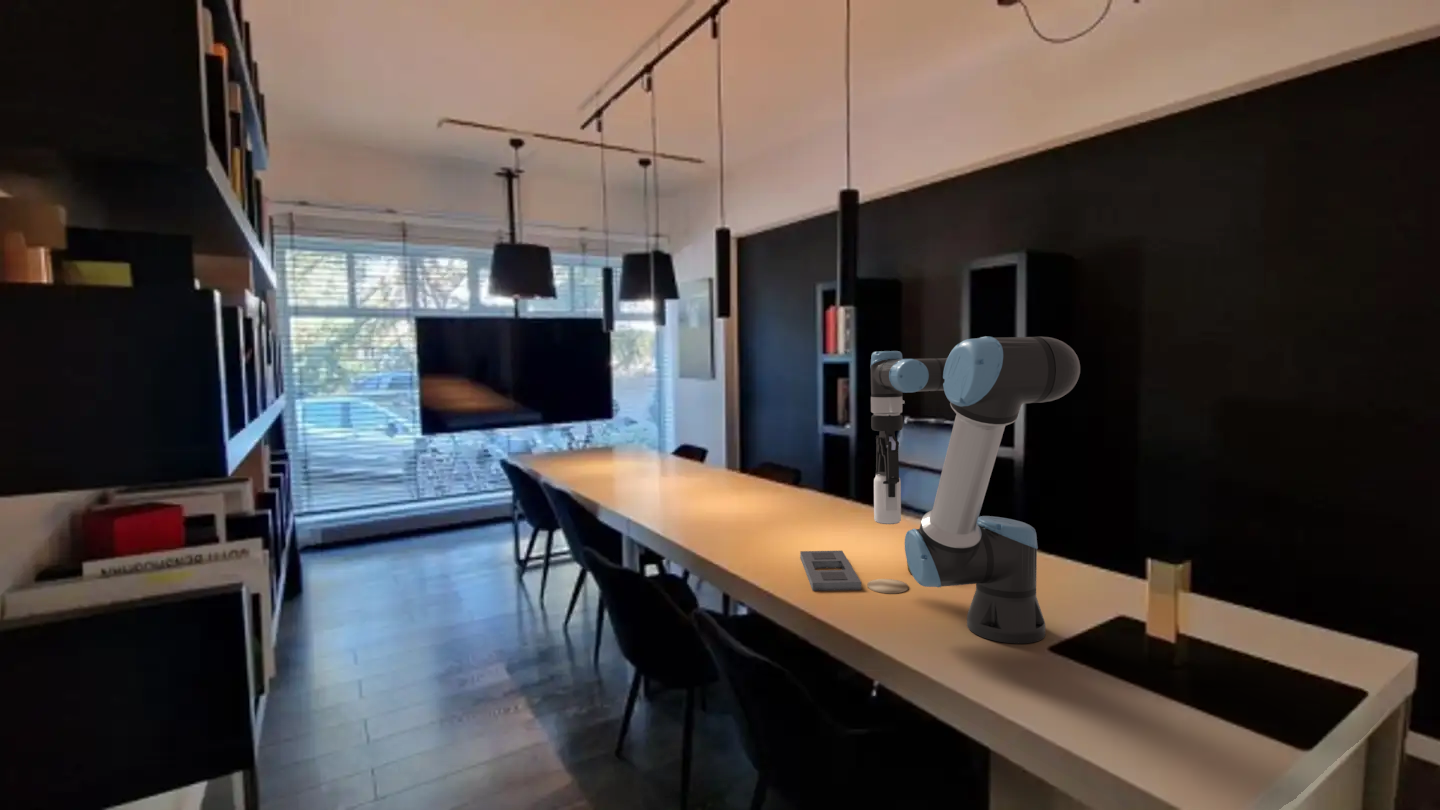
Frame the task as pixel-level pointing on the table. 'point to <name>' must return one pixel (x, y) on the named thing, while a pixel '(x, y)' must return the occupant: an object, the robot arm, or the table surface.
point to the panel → (829, 571)
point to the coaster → (887, 586)
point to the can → (879, 502)
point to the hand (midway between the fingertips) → (887, 506)
